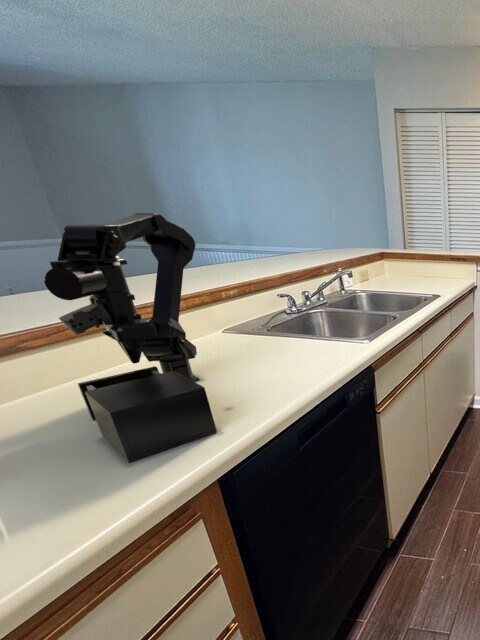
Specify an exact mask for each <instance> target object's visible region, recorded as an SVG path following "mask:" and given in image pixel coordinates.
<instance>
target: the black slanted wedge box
mask: <svg viewBox="0 0 480 640" xmlns="http://www.w3.org/2000/svg"><path fill="white" fill-rule="evenodd" d="M85 393H86V395H87V398H88V401H89V403H90V406H91V408H92V411H93V413H94V416H95V418H96V420H95V421H96V423H97V426H98V428H99V431H100V433H101V436H102V438H103V439H104V440H105V441H106V442H107V443H108V444H109V445H110V447H112V448H113V449H114V450H115V451H116V452H117V453H118V454H119V455H120V456H121V457H122V458H123V459H124V460H125V461H126V462H127V463H128V464H131V463H135V462H137V461H140V460H142V459H146V458H148V457H151V456H154V455H158V454H160V453H163V452H165V451H168V450H172V449H174V448H177V447H180V446H183V445H185V444H186V445H187V444H188V443H191V442H193V441H196V440H199V439H203V438H205V437H209V436H211V435H214V434H216V433H218V430H217V427H216V423H215V420H214V415H213V412H212V409H211V405H210V402H209V398H208V395H207V391H206V388H205V387H204V386H202V385H201V384H199V383H197V382H196V381H195V382H194V381H192V380H190V379H188V378H186V377H184V376H183V375H181V374H179V373H177V372H175V371H170V372H166V373H163V372H162V373H161V374H158V375H153V376H149V377H145V378H141V379H136V380H132V381H128V382H123V383H119V384H115V385H111V386H106V387H102V388H98V389H93V390H89V391H85Z"/></svg>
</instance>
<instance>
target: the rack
mask: <svg viewBox="0 0 480 640" xmlns="http://www.w3.org/2000/svg"><path fill="white" fill-rule="evenodd" d="M158 374H162V373H161V372H160V371H159V368H158V367H157V366H156V365H154V366H150V367H146V368H141V369H137V370H132V371H128V372H127V371H126V372H123V373H118V374H113V375H110V376H105V377H101V378H96V379H92V380H91V379H90V380H86V381H82V382H77V386H78V388H79V391H80V393H81V396H82V398H83V401H84V403H85V406H86V409H87V411H88V414H89V417H90V418H91V420H92V421H93V422H95V421H96V418H95V416H94V413H93V411H92V408H91V406H90V403H89V401H88V398H87V395H86V393H85V391H89V390H93V389H98V388H102V387H106V386H111V385H115V384H119V383H123V382H128V381H132V380H136V379H141V378H145V377H149V376H153V375H158Z"/></svg>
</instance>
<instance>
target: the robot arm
mask: <svg viewBox="0 0 480 640" xmlns="http://www.w3.org/2000/svg"><path fill="white" fill-rule="evenodd" d="M63 231H64V232H63V233H62V237H61V242H60V246H59V250H58V251H59V252H58V255H57V260H53V261H50V262H49V264H50V267H51V268H50V269H49V270H48V271H47V272H46V273H45V276H44V281H43V283H44V286H45V287H46V290H48V292H50V294H52V296H54V297H56V298H58V299H61V300H64V301H75V300H78V299H83V298H86V297H89V298H88V299H89V302H90V303H89V304H87V305H85V306H82V307H79V308H77V309H75V310H73V311H70V312H68V313H66V314H64V315H61V316H60V317H59V318H58V320H60V322H62V323H63V324H64V326H66V327H67V329H69V330H70V331H71V333H73V334H75V335H82V334H83V333H86V331H88V330H90V329H92V328H95V329H99V328H101V326H102V325H103V326H104V327H105V329H106V330H104V331H102V332H101V333H102V334H103V335H104V336H107V337H108V338H110V339H112V340H114V341H116V342H117V344H118V346H120V348H121V349H122V351H123V352H124V354H125V355H126V357H127V358H128V360H129V361H130V363H132V364H138V363H140V361H141V356H142V354H143V355H144V357H145V358H146V360H147V362H148V363H149V362H151V363H152V362H158V363H159V365H160V369H161V372H162V373H166V372H170V371H175V372H177V373H179V374H181V375H183V376H184V377H186V378H188V379H190V380H192V381H194V382H195V383H196V382H198V381H200V377H199V376H196V375H194V372H193V370H192V366H191V363H190V360H191V359H195V358H196V356H197V355H198V353H197V352H198V351H197V346H196V345H195V344H193V343H192V342H191V341H190V340H188V339H187V333H186V331H185V330H184V327H182V325H181V323H180V321H179V320H180V309H181V299H182V289H183V279H184V277H183V275H184V269H185V268H186V267H187V265H188V264H189V263H190V262H191V261H192V260H193V257H194V254H195V250H196V241H195V238H194V237H193V236H192V235H191V234H190V233H189V232H187V231H186V229H185V228H183V227H182V226H180V225H177V224H176V223H173V222H171V221H169V220H167V219H166V218H165V217H164V216H163V215H161V214H159V213H157V212H136V213H133V214H132V215H129V216H126V217H122V218H119V219H116V220H112V221H109V222H105V223H94V224H93V223H92V224H91V223H87V224H86V223H85V224H84V223H83V224H82V223H81V224H79V223H78V224H77V223H74V224H73V223H72V224H68V225H66V226H65V227H64V228H63ZM140 238H142V241H143V242H145V243H146V244H147V245H148V246H150V252H151V253H152V255H153V257H154V259H156V261H157V269H156V279H155V288H154V297H153V306H152V316H151V318H150V319H149V320H148V321H147V320H145V319H143V318H142V316H141V314H140V313H139V312H138V311H137V309H136V306H135V302H134V301H135V300H136V297H135V295H134V294H133V293H131V291H130V287H129V285H128V282H127V279H126V277H125V273H124V270H123V267H122V266H126V265H128V261H127V260H125V259H124V258H122V257H120V256H119V254H121V252H123V251H125V249H127V245H126V244H127V243H129V242H132V241H135V240H138V239H140Z"/></svg>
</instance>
